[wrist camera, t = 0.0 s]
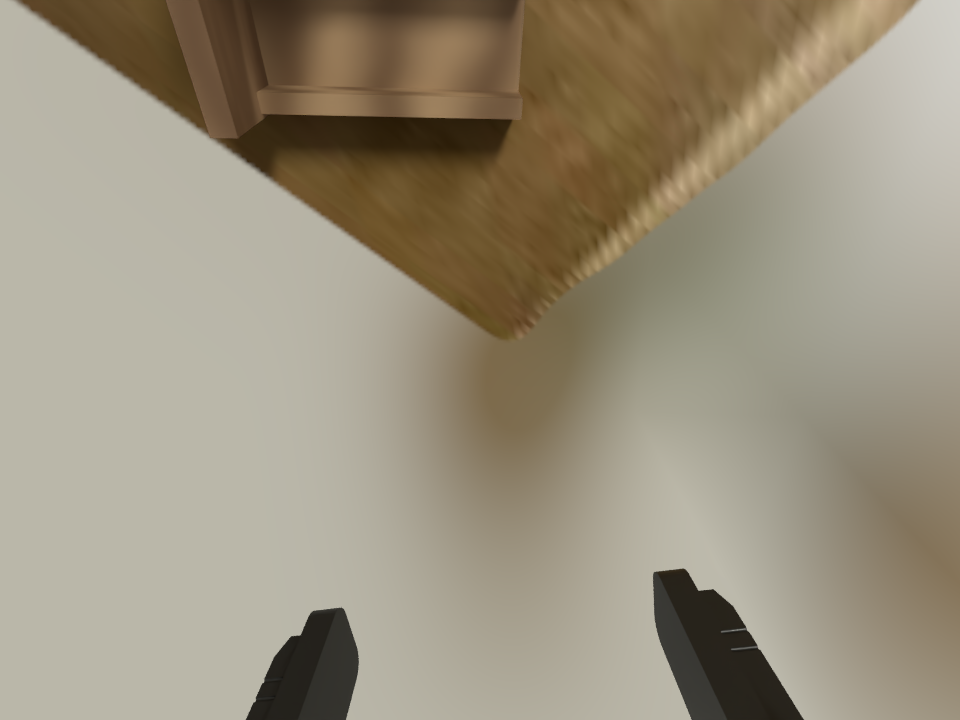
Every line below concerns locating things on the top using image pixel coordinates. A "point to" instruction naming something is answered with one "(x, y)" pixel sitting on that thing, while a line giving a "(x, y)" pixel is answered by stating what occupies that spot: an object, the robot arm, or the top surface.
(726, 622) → the robot arm
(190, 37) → the brown wooden drawer
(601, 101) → the top surface
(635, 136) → the top surface
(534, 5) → the top surface
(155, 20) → the top surface
